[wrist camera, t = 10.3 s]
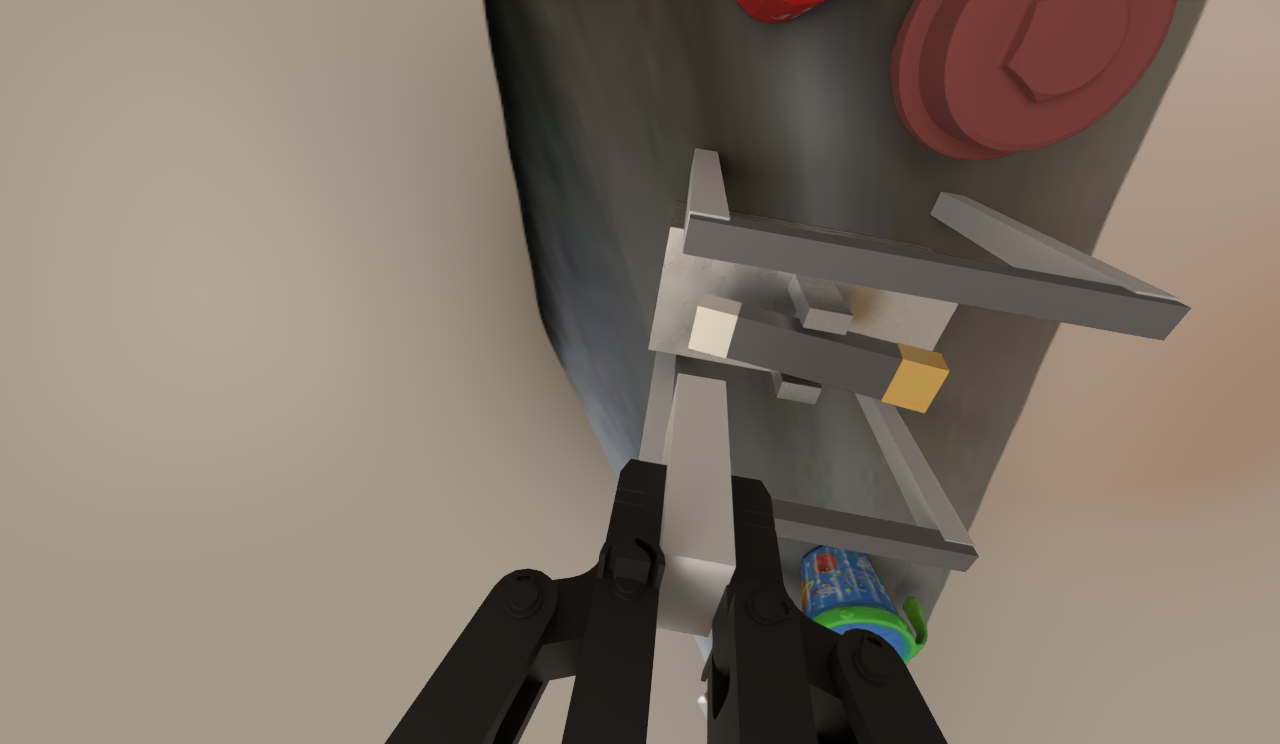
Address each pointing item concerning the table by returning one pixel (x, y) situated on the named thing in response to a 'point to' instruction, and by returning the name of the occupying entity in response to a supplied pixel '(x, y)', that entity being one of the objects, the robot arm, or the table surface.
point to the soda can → (777, 9)
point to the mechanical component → (1018, 69)
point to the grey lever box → (787, 302)
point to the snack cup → (857, 599)
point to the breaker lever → (818, 353)
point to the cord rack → (1034, 287)
